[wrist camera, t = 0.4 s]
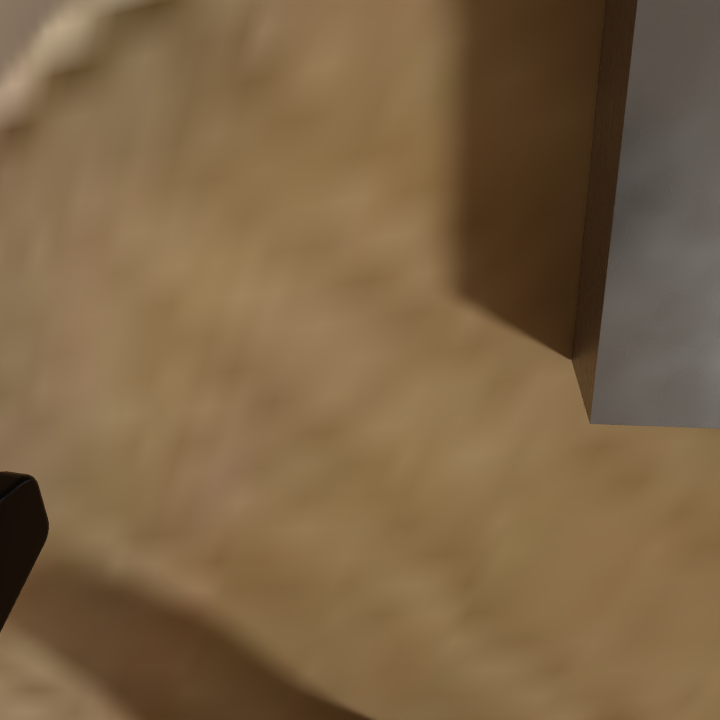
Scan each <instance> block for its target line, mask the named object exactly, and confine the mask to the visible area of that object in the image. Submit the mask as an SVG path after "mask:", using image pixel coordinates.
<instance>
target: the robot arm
mask: <svg viewBox="0 0 720 720" xmlns="http://www.w3.org/2000/svg"><path fill="white" fill-rule="evenodd" d="M48 530H49V522H48V517H47V514H46V510H45V507H44V503H43V499H42V496H41V492H40V489H39V485H38V483H37V481H36V480H35V478H34V477H33V476H31V475H28V474H21V473H14V472H7V471H5V472H0V632H1V630H2V628H3V626H4V624H5V622H6V620H7V618H8V616H9V614H10V612H11V610H12V608H13V606H14V604H15V602H16V600H17V598H18V596H19V594H20V592H21V590H22V588H23V586H24V584H25V582H26V580H27V578H28V576H29V574H30V572H31V570H32V568H33V566H34V564H35V562H36V560H37V558H38V556H39V554H40V552H41V550H42V548H43V546H44V544H45V541H46V539H47V535H48Z"/></svg>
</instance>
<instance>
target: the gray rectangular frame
mask: <svg viewBox="0 0 720 720" xmlns="http://www.w3.org/2000/svg"><path fill="white" fill-rule="evenodd" d="M572 363H573V367H574V370H575V374H576V377H577V381H578V384H579V387H580V391H581V394H582V398H583V401H584V405H585V408H586V412H587V415H588V419H589V422H590V424H610V425H636V426H663V427H690V428H716V429H720V0H606V7H605V18H604V29H603V39H602V50H601V60H600V71H599V81H598V92H597V102H596V113H595V124H594V134H593V145H592V155H591V166H590V176H589V187H588V198H587V208H586V219H585V229H584V240H583V250H582V261H581V271H580V282H579V293H578V303H577V314H576V324H575V335H574V345H573V356H572Z"/></svg>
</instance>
